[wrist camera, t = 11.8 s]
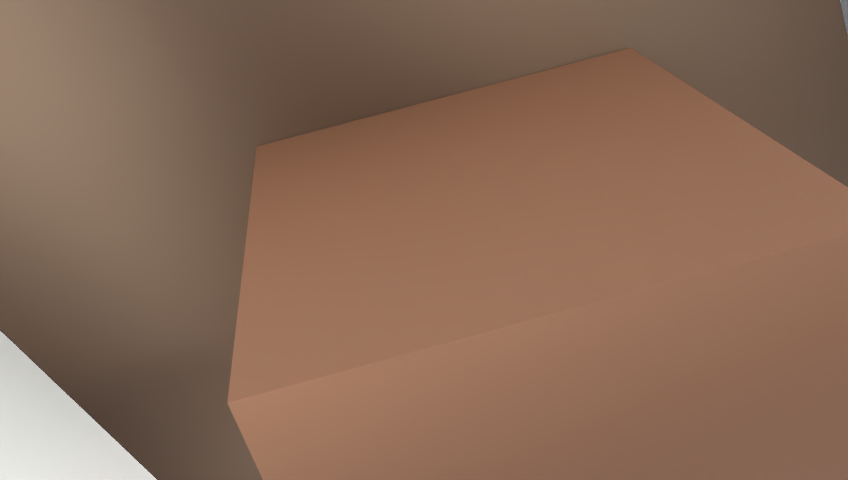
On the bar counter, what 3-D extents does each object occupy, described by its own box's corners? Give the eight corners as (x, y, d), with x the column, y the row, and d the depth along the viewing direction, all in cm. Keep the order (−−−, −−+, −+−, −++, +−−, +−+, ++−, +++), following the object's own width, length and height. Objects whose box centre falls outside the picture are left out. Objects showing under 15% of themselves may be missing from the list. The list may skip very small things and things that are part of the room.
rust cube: (630, 48, 10) (898, 219, 6) (654, 346, 12) (852, 627, 8) (256, 146, 10) (228, 402, 5) (356, 428, 12) (391, 761, 8)
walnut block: (556, -338, 13) (740, -458, 8) (740, 208, 19) (916, 354, 13) (-24, 19, 14) (-212, 128, 9) (318, 428, 20) (327, 641, 15)
